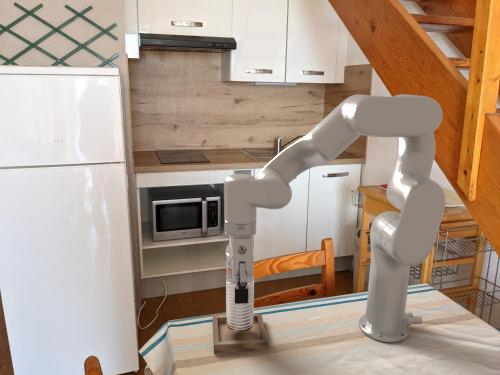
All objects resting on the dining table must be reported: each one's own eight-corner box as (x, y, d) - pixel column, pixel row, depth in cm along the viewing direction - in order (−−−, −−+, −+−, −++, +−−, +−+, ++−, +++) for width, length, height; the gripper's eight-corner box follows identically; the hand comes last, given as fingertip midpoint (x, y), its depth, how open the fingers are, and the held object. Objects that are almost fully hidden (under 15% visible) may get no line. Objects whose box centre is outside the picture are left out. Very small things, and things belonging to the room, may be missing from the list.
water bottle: (250, 335, 104) (251, 238, 98) (223, 332, 105) (222, 236, 99) (255, 320, 111) (257, 228, 104) (230, 317, 112) (229, 226, 106)
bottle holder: (261, 321, 116) (261, 313, 115) (268, 350, 103) (268, 342, 103) (212, 323, 114) (212, 315, 114) (213, 353, 102) (213, 344, 101)
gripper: (261, 239, 94) (259, 313, 98) (252, 215, 110) (251, 278, 115) (226, 240, 93) (226, 314, 97) (222, 215, 109) (223, 279, 114)
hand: (240, 294), depth 106 cm, fingers closed on water bottle, 6 cm apart
